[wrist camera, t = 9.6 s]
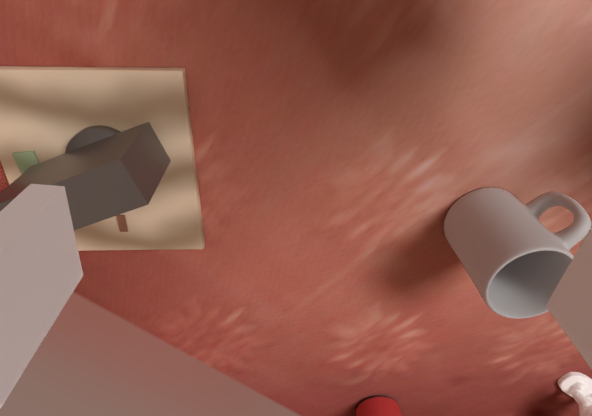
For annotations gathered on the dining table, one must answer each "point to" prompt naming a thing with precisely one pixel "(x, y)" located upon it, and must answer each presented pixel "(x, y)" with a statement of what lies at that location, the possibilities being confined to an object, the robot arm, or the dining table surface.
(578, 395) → the figurine
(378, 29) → the dining table surface
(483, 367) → the dining table surface
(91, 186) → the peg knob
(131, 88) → the board
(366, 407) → the beer can
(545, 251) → the mug
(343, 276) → the dining table surface
